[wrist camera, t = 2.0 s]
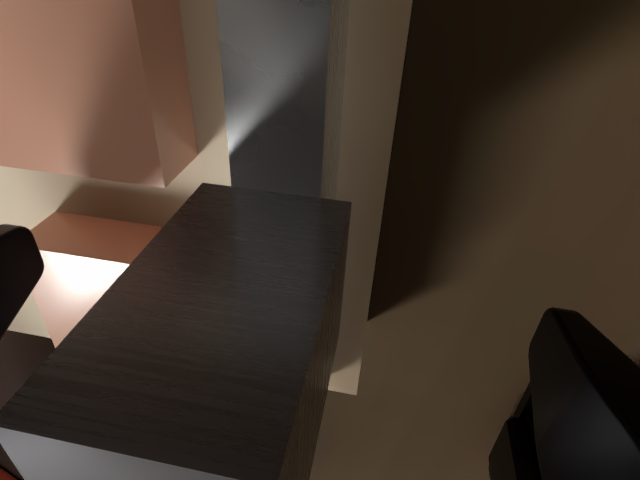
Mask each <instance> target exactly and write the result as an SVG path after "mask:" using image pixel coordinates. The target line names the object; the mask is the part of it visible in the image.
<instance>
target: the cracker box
mask: <svg viewBox="0 0 640 480" xmlns="http://www.w3.org/2000/svg"><path fill="white" fill-rule="evenodd" d="M0 480H17V479H16V478H14V477H13V476H11V475H10V474H8V473H7V472H6V471H4V470H3V469H1V468H0Z"/></svg>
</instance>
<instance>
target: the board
mask: <svg viewBox="0 0 640 480" xmlns="http://www.w3.org/2000/svg"><path fill="white" fill-rule="evenodd" d="M412 2H413V0H350V11H349V25H348V39H347V53H346V67H345V81H344V95H343V109H342V123H341V137H340V151H339V165H338V179H337V193H336V200H340V201H348V202H352V205H351V216H350V226H349V237H348V247H347V258H346V268H345V279H344V289H343V300H342V311H341V321H340V332H339V338H338V343H337V347H336V352H335V357H334V362H333V367H332V371H331V376H330V381H329V386H328V390H331V391H337V392H342V393H347V394H353V395H357V388H358V381H359V374H360V367H361V360H362V353H363V346H364V339H365V332H366V325H367V318H368V311H369V304H370V297H371V290H372V283H373V276H374V269H375V262H376V255H377V248H378V241H379V234H380V227H381V220H382V213H383V205H384V198H385V191H386V184H387V177H388V170H389V163H390V156H391V149H392V142H393V135H394V128H395V121H396V114H397V107H398V100H399V93H400V86H401V79H402V72H403V65H404V58H405V51H406V44H407V37H408V30H409V23H410V16H411V9H412ZM179 5H180V13H181V21H182V29H183V37H184V45H185V53H186V61H187V69H188V78H189V86H190V94H191V102H192V110H193V118H194V126H195V134H196V142H197V150H198V156H197V157H196V158H195V159H194V160H193V161H192V162H191V163H190V164H189V165H188V166H187V167H186V168H185V169H184V170H183V171H182V172H181V173H180V174H179V175H178V176H177V177H176V178H174V179H173V180H172V181H171V182H170V183H169V184H168V185H167V186H166V187H165V188H162V187H154V186H147V185H139V184H132V183H124V182H117V181H109V180H102V179H94V178H87V177H79V176H72V175H64V174H57V173H49V172H42V171H34V170H27V169H19V168H12V167H4V166H0V225H1V224H11V225H18V226H24V227H26V228H28V229H29V230H31V229H33V228H34V227H35V226H37V225H38V224H39V223H41V222H42V221H43V220H45V219H46V218H47V217H49V216H50V215H51V214H53V213H54V212H55V211H57V212H64V213H71V214H78V215H84V216H91V217H98V218H105V219H112V220H119V221H126V222H133V223H139V224H146V225H153V226H160V227H164V225H165V224H166V223H167V222H168V221H169V220H170V219H171V218H172V216H173V215H174V214H175V213H176V212H177V211H178V210H179V209H180V207H181V206H182V205H183V204H184V203H185V202H186V201H187V199H188V198H189V197H190V196H191V195H192V194H193V193H194V192H195V190H196V189H197V188H198V187H199V186H200V185H201V184H202V183H209V184H217V185H225V186H231V177H230V164H229V152H228V140H227V128H226V116H225V103H224V91H223V79H222V67H221V54H220V42H219V30H218V18H217V5H216V0H179ZM7 330H10V331H15V332H21V333H26V334H31V335H37V336H42V337H47V338H51V337H50V335H49V332H48V330H47V328H46V326H45V323H44V321H43V319H42V316H41V314H40V312H39V310H38V307H37V305H36V303H35V301H34V298H33V296H32V294H30V295H29V297H28V298H27V300H26V301H25V303H24V304H23V306H22V308H21V309H20V311H19V312H18V314H17V315H16V317H15V318H14V320H13V322H12V323H11V325H10V326H9V328H8V329H7Z"/></svg>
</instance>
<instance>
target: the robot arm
mask: <svg viewBox="0 0 640 480" xmlns="http://www.w3.org/2000/svg"><path fill="white" fill-rule="evenodd" d="M43 271H44V261H43V259H42V256H41V253H40V251H39V248H38V246H37V243H36V241H35V238H34V236H33V234H32V232H31V231H30V230H29V229H28V228H26V227H24V226H18V225H11V224H1V225H0V340H1V338H2V337H3V335H4V334H5V332H6V331H7V329H8V328H9V326H10V325H11V323H12V322H13V320H14V318H15V317H16V315H17V314H18V312H19V311H20V309H21V308H22V306H23V304H24V303H25V301H26V300H27V298H28V297H29V295H30V294H31V292H32V290H33V289H34V287H35V286H36V284H37V283H38V281H39V280H40V278H41V276H42V274H43ZM528 356H529V370H530V383H529V385H528V387H527V389H526V391H525V393H524V395H523V397H522V399H521V401H520V403H519V405H518V407H517V409H516V411H515V413H514V415H513V416H511V417H510V418H509V419H508V420H507V421H506V422H505V424H504V426H503V428H502V430H501V432H500V434H499V436H498V438H497V440H496V442H495V444H494V447H493V449H492V451H491V453H490V455H489V475H490V479H491V480H640V367H639V366H638V365H637V364H635V363H634V362H633V361H632V360H631V359H630V358H629V357H628V356H627V355H625V354H624V353H623V352H622V351H621V350H620V349H619V348H618V347H617V346H615V345H614V344H613V343H612V342H611V341H610V340H609V339H608V338H607V337H605V336H604V335H603V334H602V333H601V332H600V331H599V330H598V329H597V328H595V327H594V326H593V325H592V324H591V323H590V322H589V321H588V320H587V319H585V318H584V317H583V316H582V315H581V314H580V313H578V312H576V311H573V310H567V309H560V308H549V309H547V310H546V311H545V313H544V314H543V316H542V319H541V321H540V323H539V325H538V327H537V330H536V332H535V334H534V336H533V338H532V341H531V343H530V347H529V355H528Z"/></svg>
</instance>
